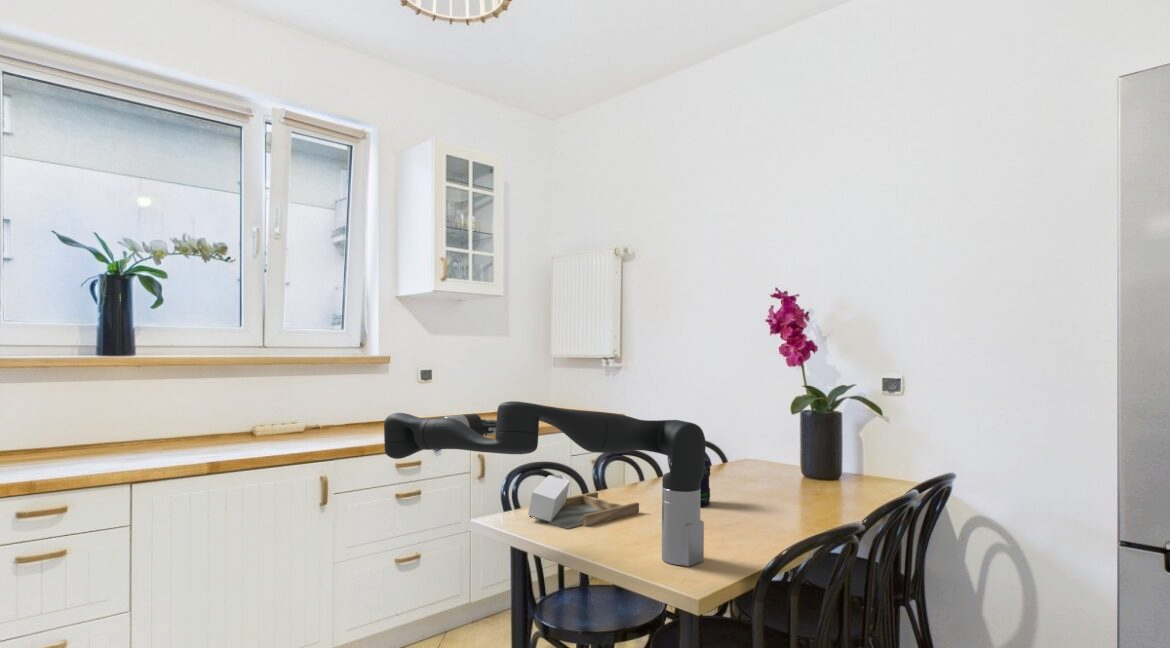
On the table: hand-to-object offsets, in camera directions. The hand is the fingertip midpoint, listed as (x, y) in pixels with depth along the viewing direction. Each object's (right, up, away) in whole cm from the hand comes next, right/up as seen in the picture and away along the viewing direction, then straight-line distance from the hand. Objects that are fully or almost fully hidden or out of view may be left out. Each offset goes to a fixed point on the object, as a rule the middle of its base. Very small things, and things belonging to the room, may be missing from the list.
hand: (515, 424), depth 168 cm
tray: (+19, -31, +20) cm, 41 cm away
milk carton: (+6, -26, +10) cm, 28 cm away
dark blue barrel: (+55, -32, +36) cm, 73 cm away
